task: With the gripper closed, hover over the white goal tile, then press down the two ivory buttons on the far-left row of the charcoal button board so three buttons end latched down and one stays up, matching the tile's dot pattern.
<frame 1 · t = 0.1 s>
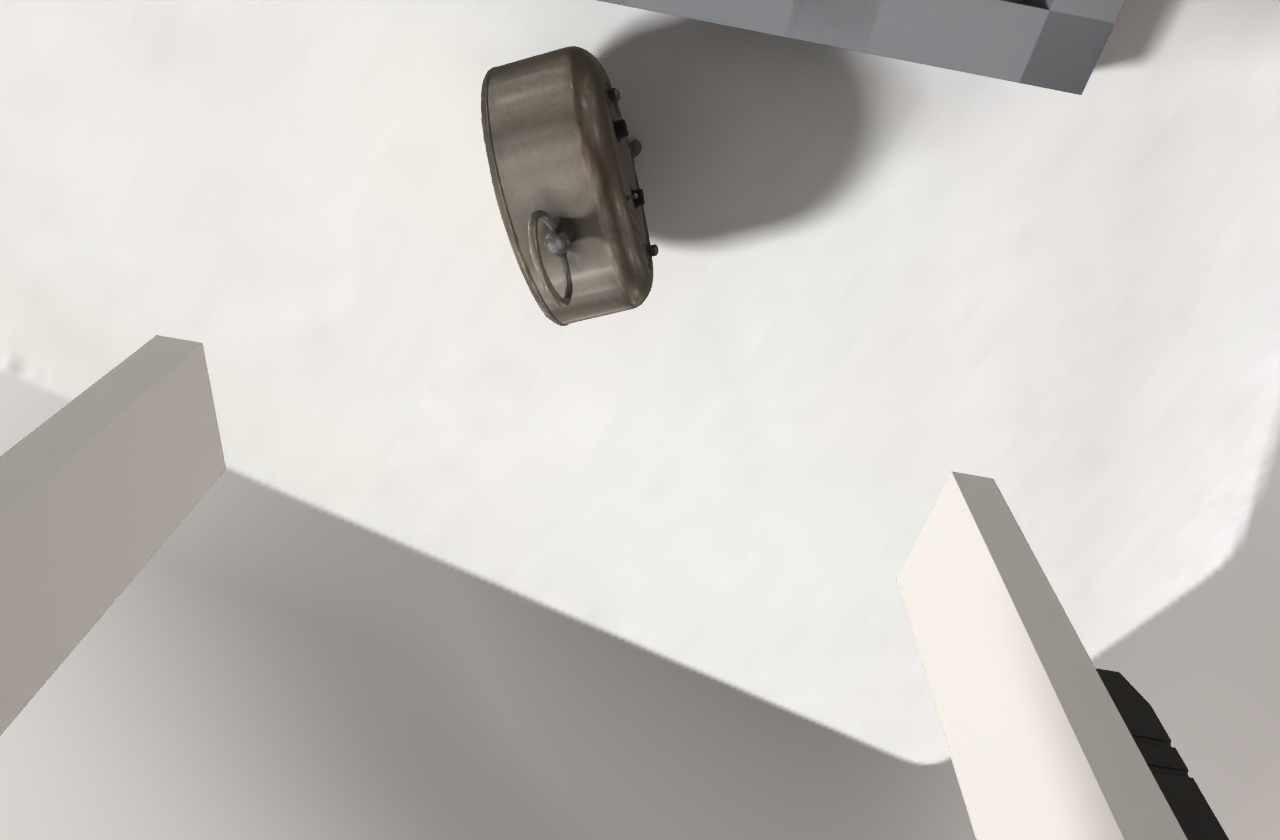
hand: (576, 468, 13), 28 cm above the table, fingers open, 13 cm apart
alarm clock: (598, 150, 38), on the table
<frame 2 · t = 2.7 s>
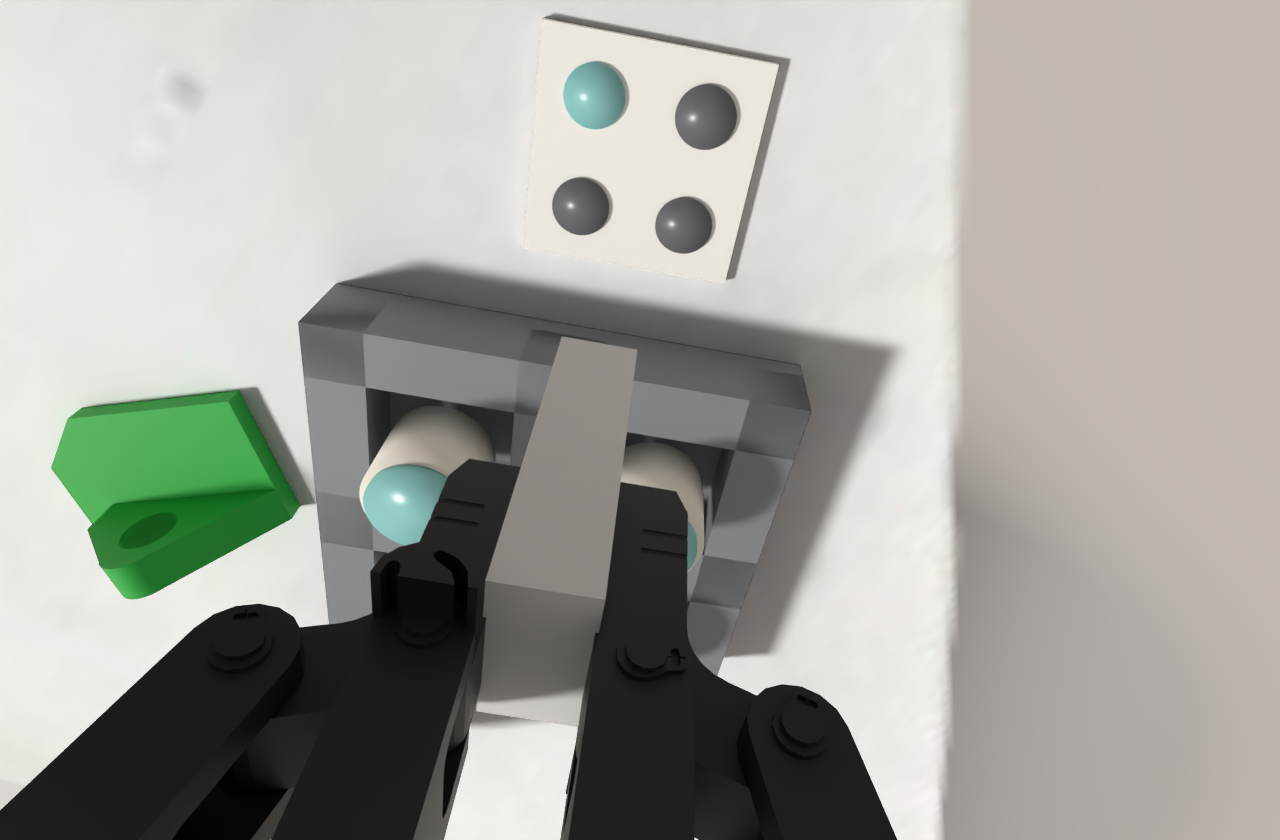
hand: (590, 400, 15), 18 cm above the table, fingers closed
button C: (429, 478, 34), point 5 cm above the table, slide at 0.0 cm
button A: (648, 515, 34), point 5 cm above the table, slide at 0.0 cm
button board: (548, 501, 41), on the table
goal tile: (641, 160, 31), on the table
bracket: (176, 455, 42), on the table
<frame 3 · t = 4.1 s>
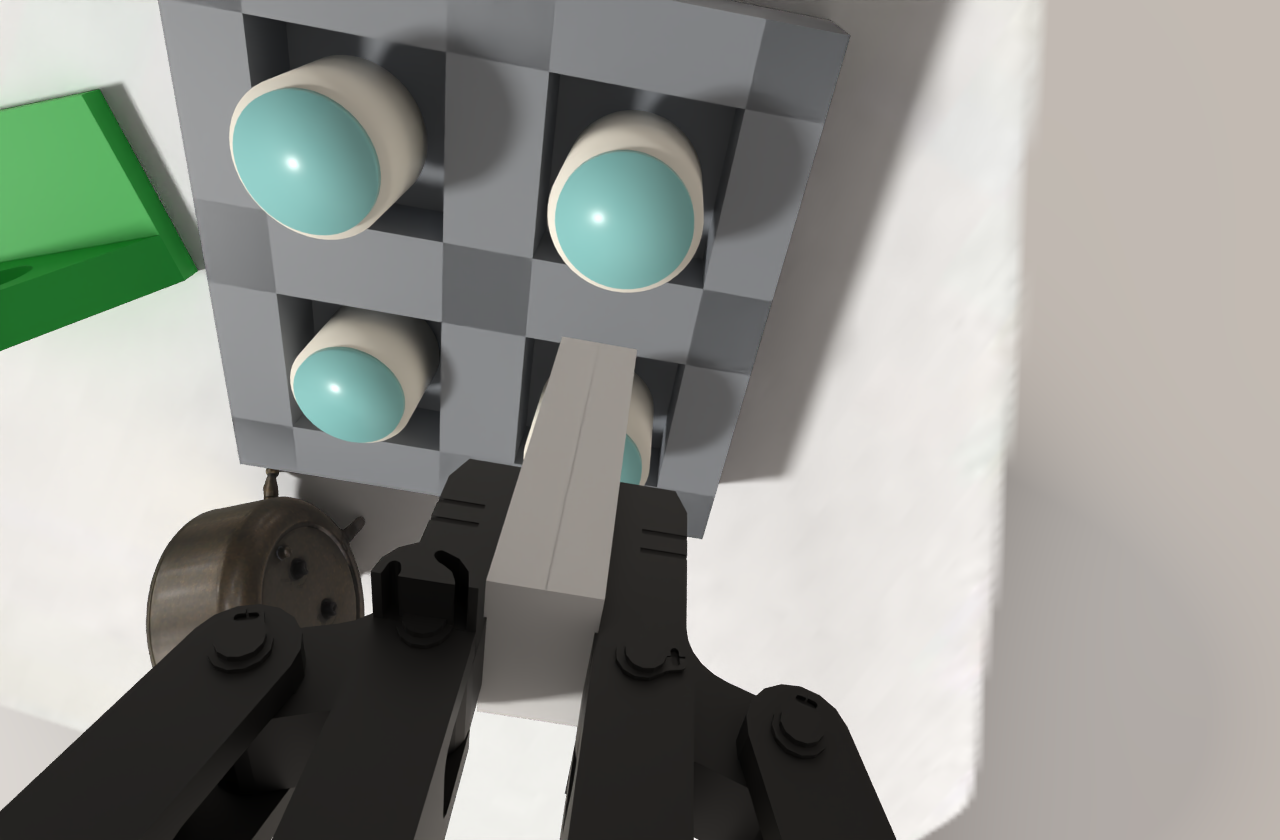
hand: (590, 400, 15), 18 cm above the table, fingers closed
button B: (591, 437, 31), point 5 cm above the table, slide at 0.0 cm
button C: (333, 147, 25), point 5 cm above the table, slide at 0.0 cm
alarm clock: (329, 519, 42), on the table
button A: (629, 202, 25), point 5 cm above the table, slide at 0.0 cm
button board: (506, 252, 32), on the table
button D: (367, 371, 32), point 3 cm above the table, slide at -2.0 cm
bracket: (39, 204, 33), on the table
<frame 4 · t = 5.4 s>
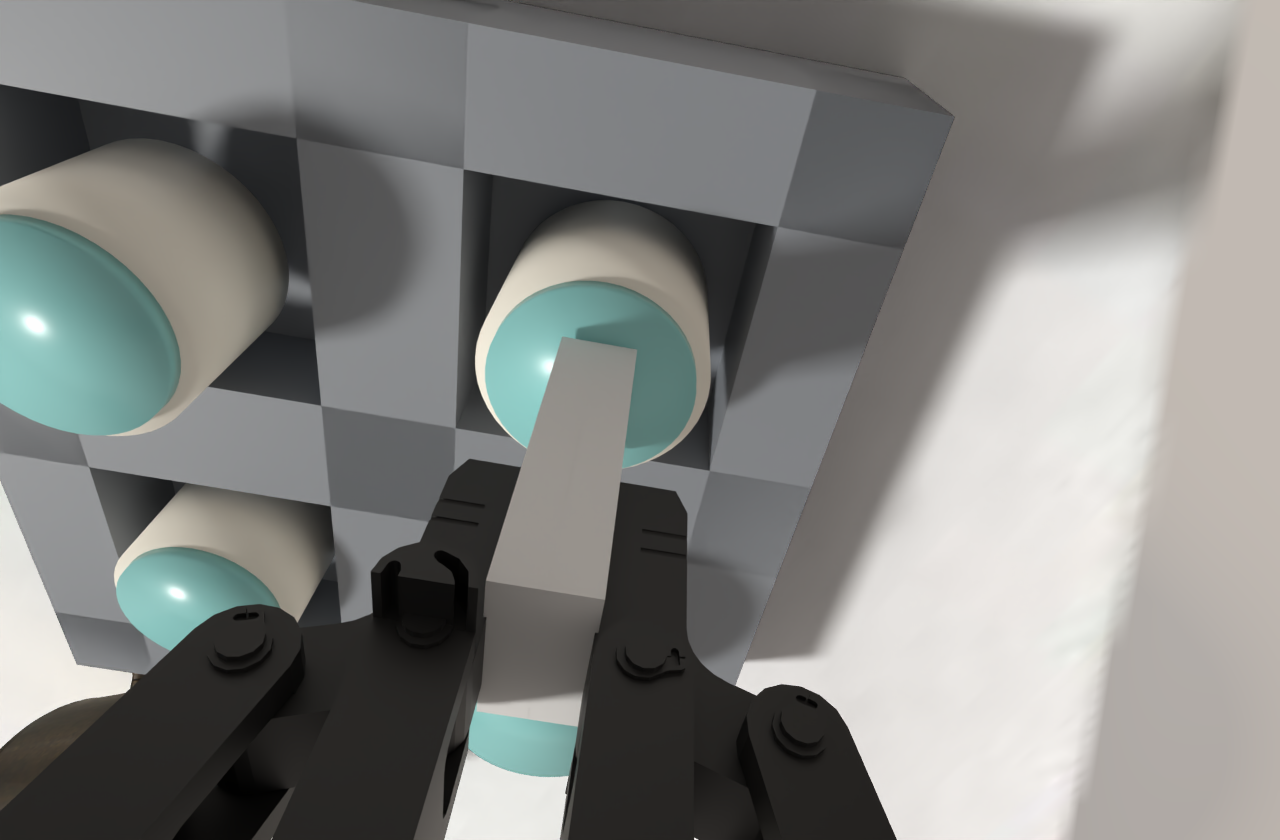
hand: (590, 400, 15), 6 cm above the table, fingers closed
button B: (549, 662, 22), point 5 cm above the table, slide at 0.0 cm
button C: (121, 288, 16), point 5 cm above the table, slide at 0.0 cm
alarm clock: (229, 690, 33), on the table
button A: (600, 337, 17), point 4 cm above the table, slide at -1.5 cm, touching gripper
button board: (433, 389, 23), on the table
button D: (236, 558, 23), point 3 cm above the table, slide at -2.0 cm
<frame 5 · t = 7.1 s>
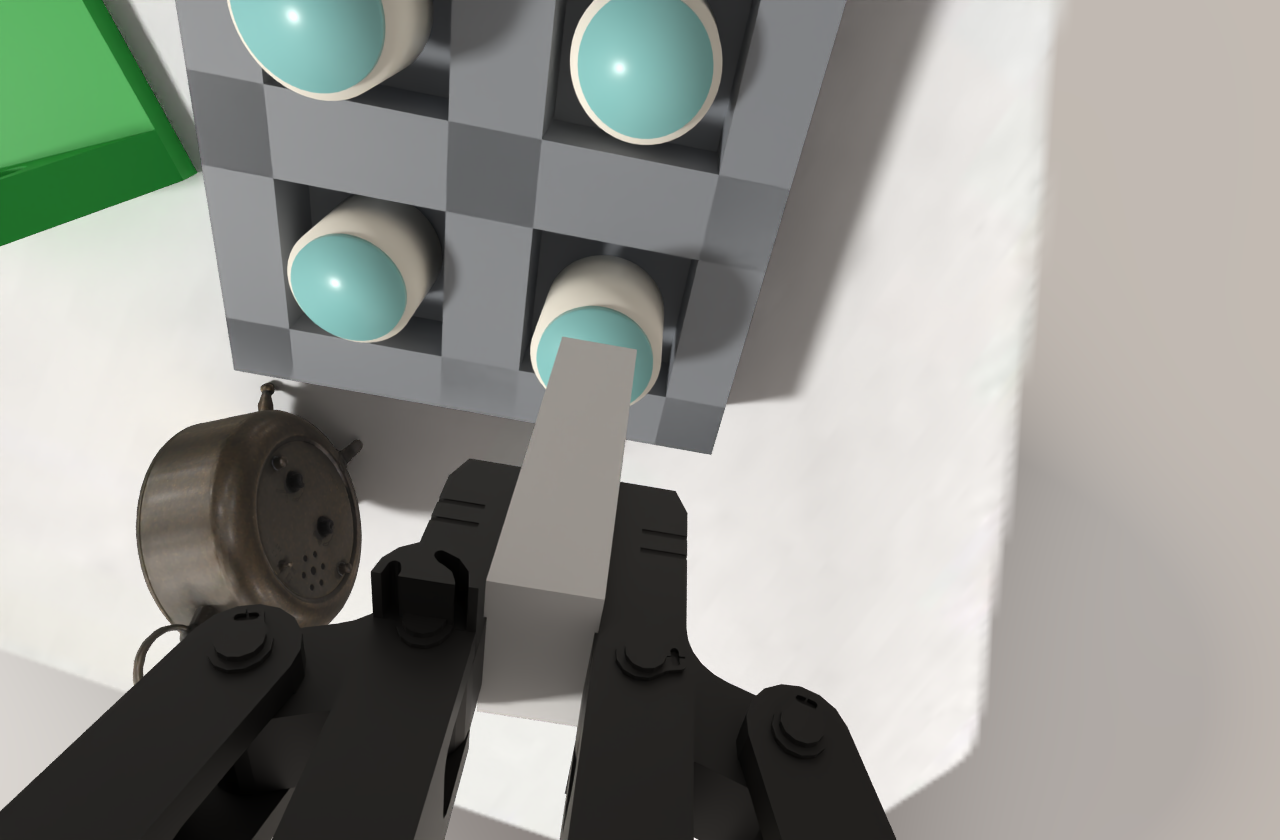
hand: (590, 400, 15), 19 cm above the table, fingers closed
button B: (600, 335, 30), point 5 cm above the table, slide at 0.0 cm
button C: (334, 4, 24), point 5 cm above the table, slide at 0.0 cm
alarm clock: (326, 443, 41), on the table
button A: (648, 56, 26), point 3 cm above the table, slide at -2.2 cm
button board: (512, 147, 31), on the table
button D: (367, 268, 31), point 4 cm above the table, slide at -2.0 cm
bracket: (32, 108, 32), on the table
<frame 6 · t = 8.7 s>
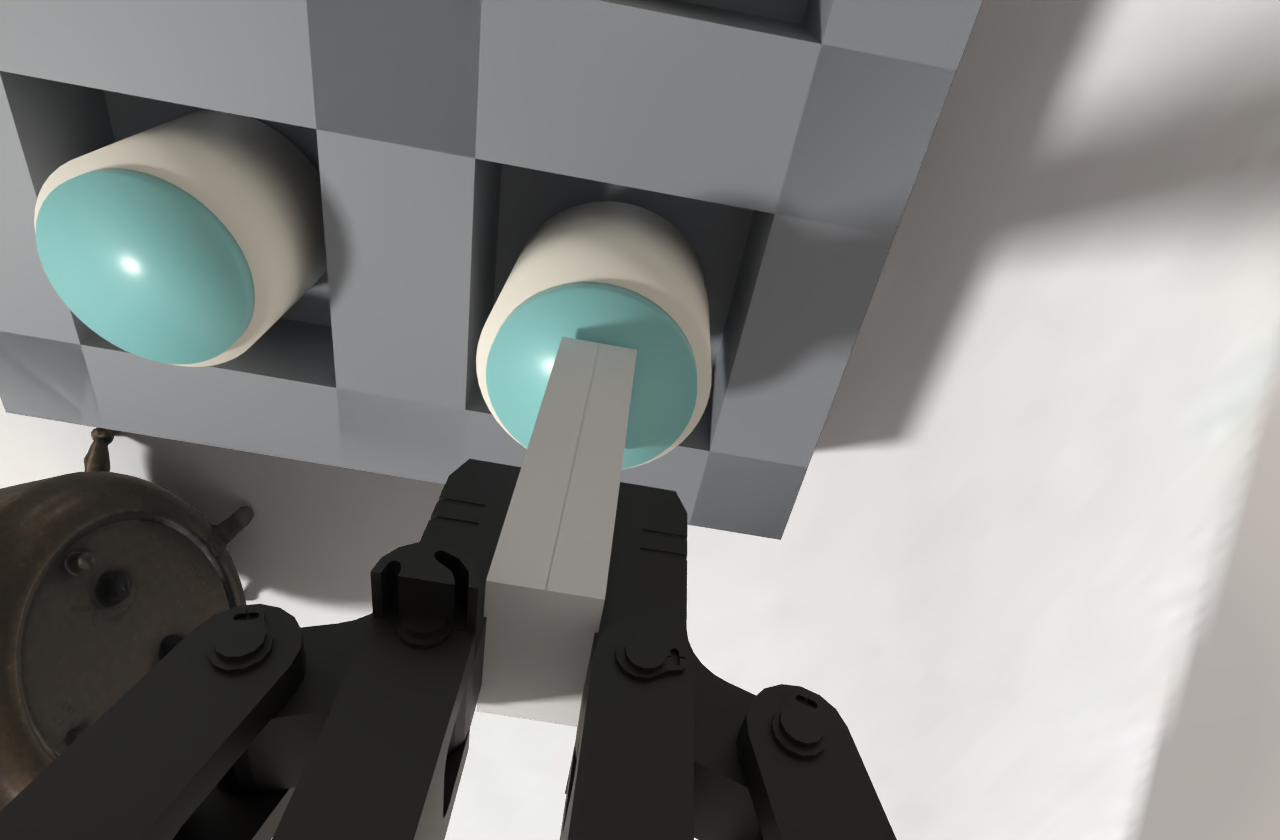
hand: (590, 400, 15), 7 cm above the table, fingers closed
button B: (601, 338, 17), point 5 cm above the table, slide at -0.6 cm, touching gripper
alarm clock: (203, 510, 28), on the table
button board: (448, 31, 18), on the table
button D: (198, 239, 18), point 3 cm above the table, slide at -2.0 cm
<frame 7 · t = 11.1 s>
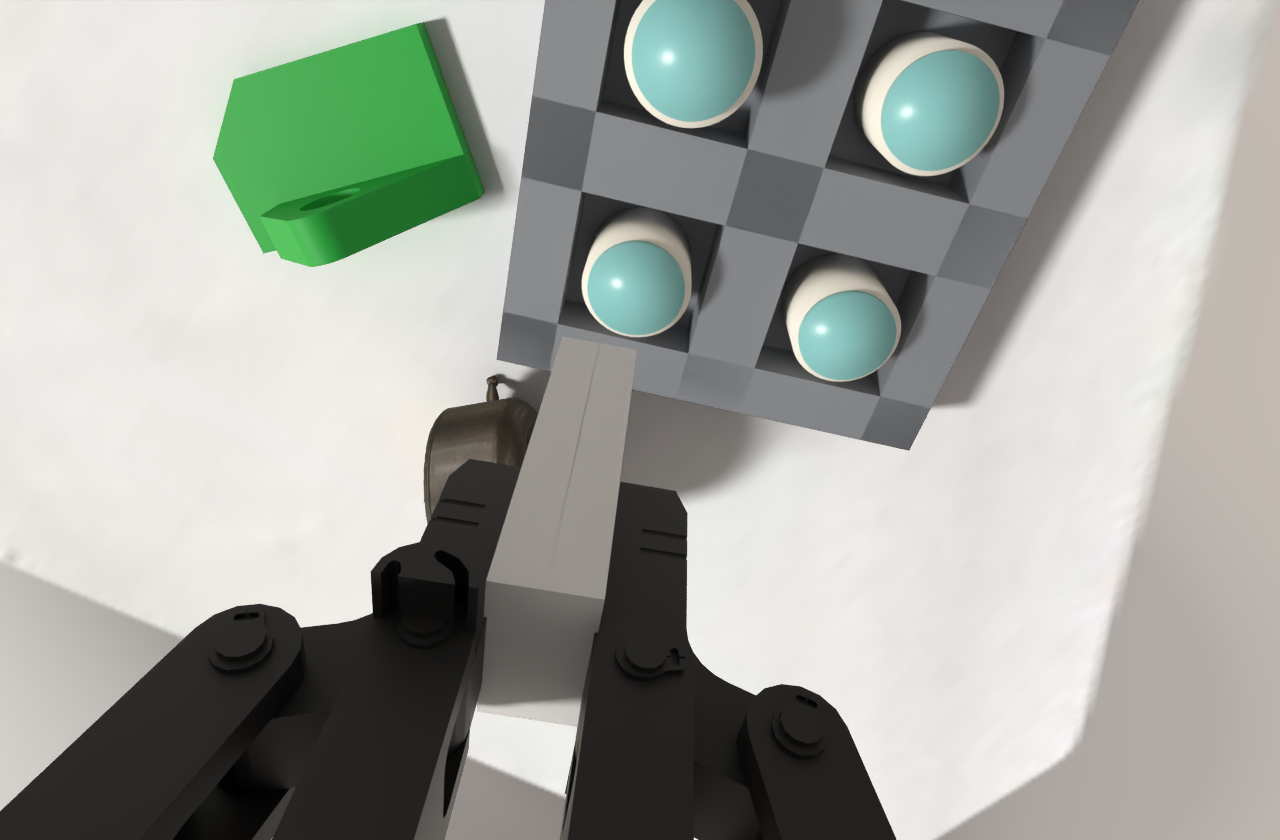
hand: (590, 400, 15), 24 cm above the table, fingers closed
button B: (839, 318, 36), point 3 cm above the table, slide at -2.1 cm
button C: (692, 49, 28), point 5 cm above the table, slide at 0.0 cm
alarm clock: (530, 434, 45), on the table
button A: (925, 103, 31), point 3 cm above the table, slide at -2.2 cm
button board: (765, 174, 36), on the table
button D: (638, 273, 35), point 3 cm above the table, slide at -2.0 cm
bracket: (346, 141, 37), on the table
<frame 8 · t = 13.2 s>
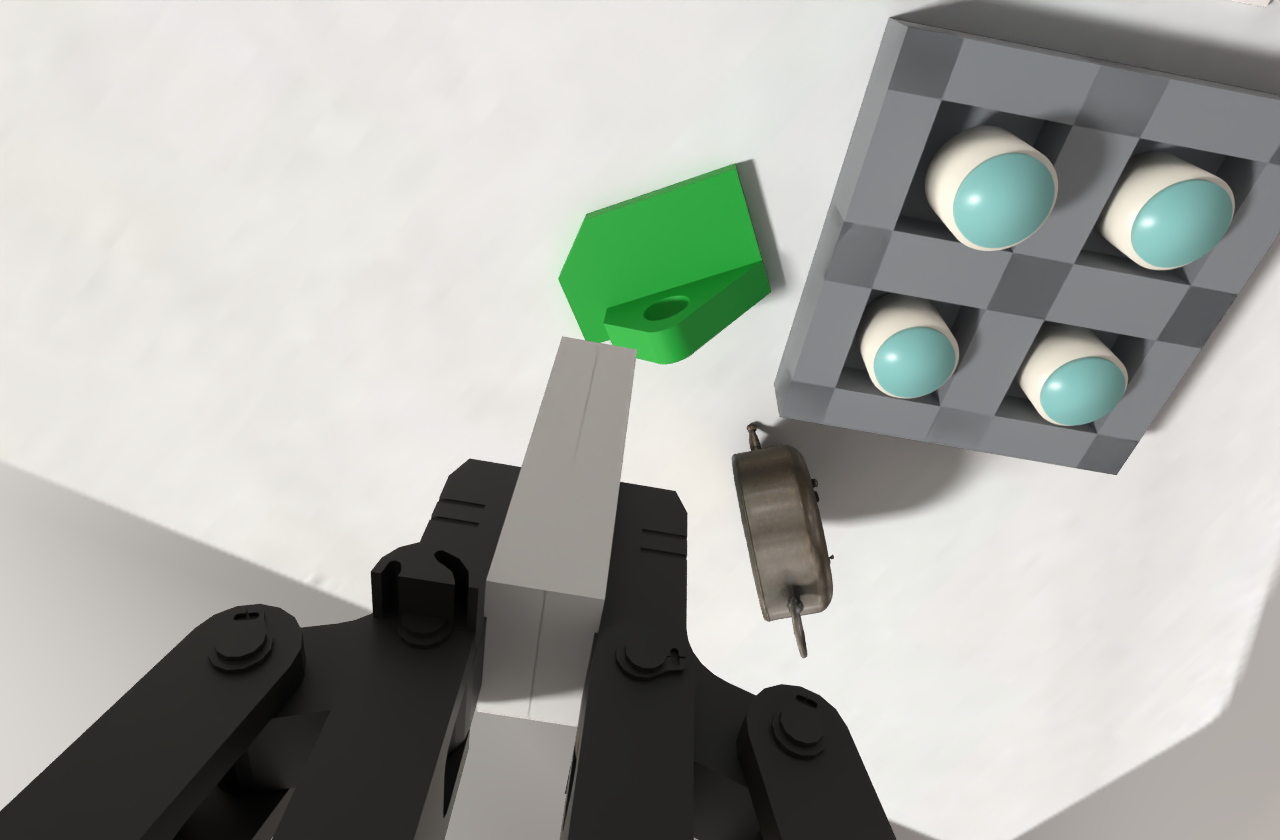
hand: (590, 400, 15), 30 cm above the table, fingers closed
button B: (1067, 374, 45), point 3 cm above the table, slide at -2.1 cm
button C: (988, 189, 37), point 5 cm above the table, slide at 0.0 cm
alarm clock: (775, 468, 54), on the table
button A: (1159, 211, 39), point 3 cm above the table, slide at -2.2 cm
button board: (1003, 259, 44), on the table
button D: (905, 346, 44), point 3 cm above the table, slide at -2.0 cm
bracket: (657, 254, 46), on the table
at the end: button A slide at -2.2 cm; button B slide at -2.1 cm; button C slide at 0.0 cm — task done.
